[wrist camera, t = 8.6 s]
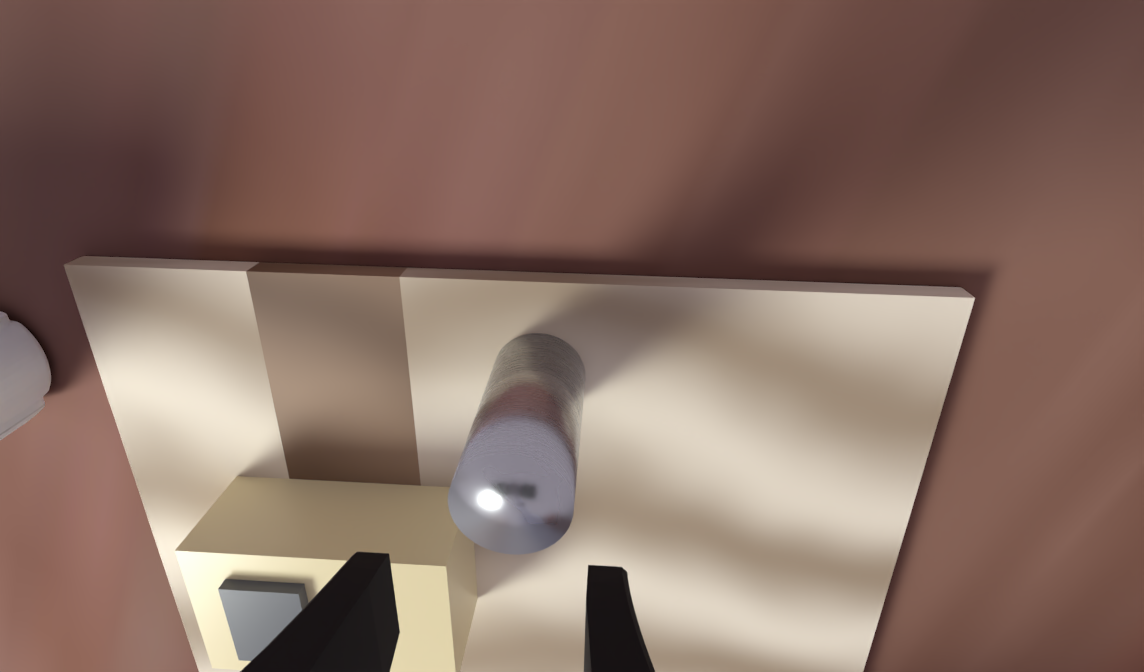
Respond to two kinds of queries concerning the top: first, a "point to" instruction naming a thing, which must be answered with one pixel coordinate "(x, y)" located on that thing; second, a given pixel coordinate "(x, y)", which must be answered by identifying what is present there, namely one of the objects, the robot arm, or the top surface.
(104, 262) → the subfloor board
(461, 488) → the silver metal cylinder
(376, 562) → the robot arm
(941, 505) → the top surface
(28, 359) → the white rounded block
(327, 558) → the cream rectangular block
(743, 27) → the top surface
